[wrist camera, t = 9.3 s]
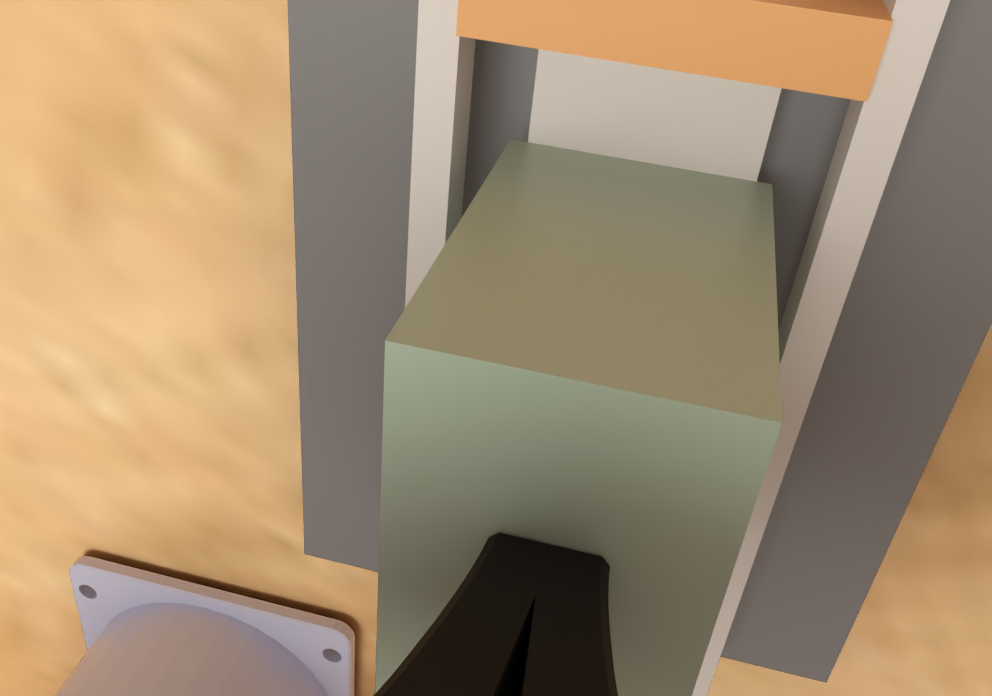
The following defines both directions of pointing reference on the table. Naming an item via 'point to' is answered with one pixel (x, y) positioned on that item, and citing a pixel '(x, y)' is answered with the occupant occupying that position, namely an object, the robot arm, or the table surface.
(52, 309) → the table surface
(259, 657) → the robot arm
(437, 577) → the block
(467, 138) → the rail board
